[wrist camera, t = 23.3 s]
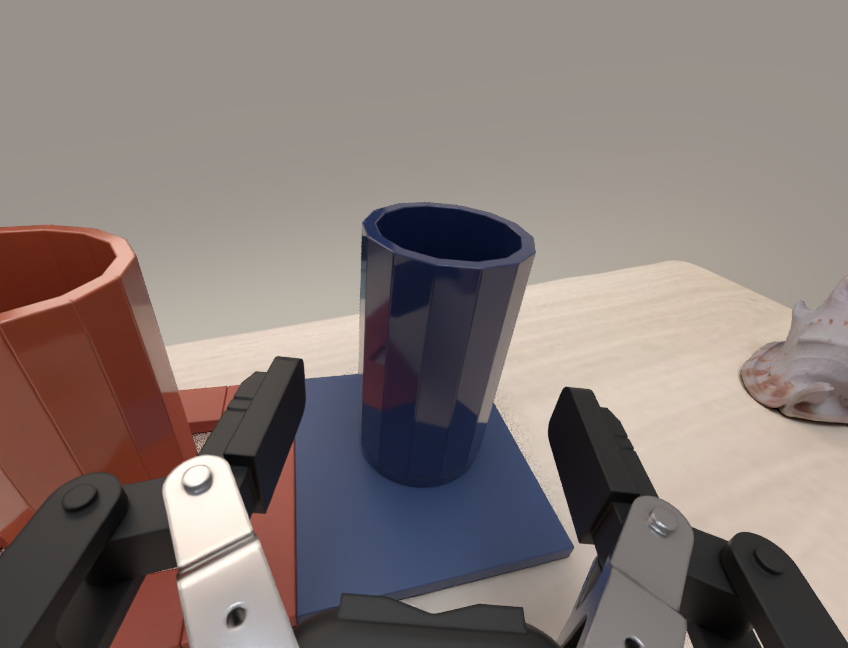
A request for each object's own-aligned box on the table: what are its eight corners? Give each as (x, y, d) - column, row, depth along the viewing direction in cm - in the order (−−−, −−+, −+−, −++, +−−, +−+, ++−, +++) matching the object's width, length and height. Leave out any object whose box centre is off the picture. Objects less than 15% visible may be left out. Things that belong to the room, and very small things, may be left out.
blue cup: (368, 500, 17) (380, 270, 11) (351, 397, 22) (353, 199, 16) (498, 476, 19) (570, 266, 13) (455, 386, 24) (493, 203, 18)
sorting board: (-126, 734, 11) (-146, 726, 10) (68, 412, 20) (62, 400, 20) (569, 557, 17) (575, 547, 17) (469, 372, 26) (472, 362, 26)
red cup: (-20, 609, 13) (-323, 347, 7) (64, 455, 18) (-73, 223, 12) (188, 567, 15) (83, 327, 9) (214, 436, 20) (158, 225, 14)
